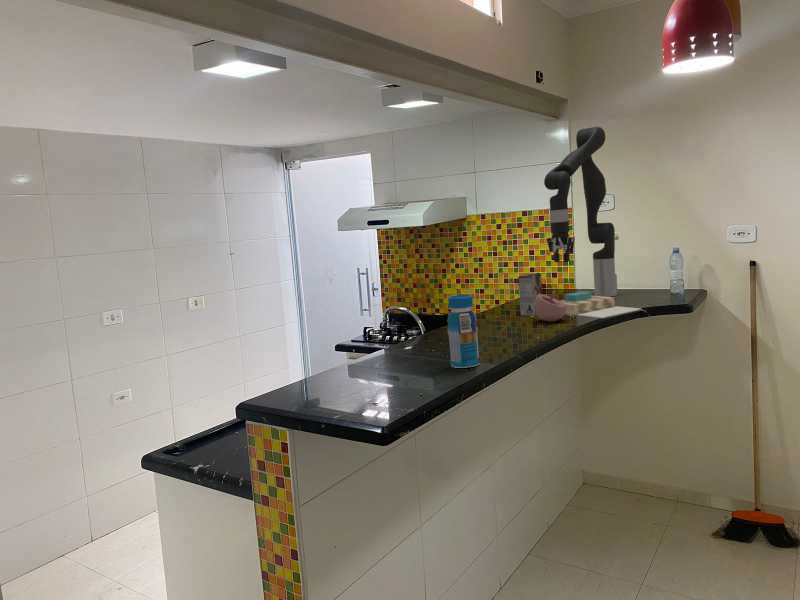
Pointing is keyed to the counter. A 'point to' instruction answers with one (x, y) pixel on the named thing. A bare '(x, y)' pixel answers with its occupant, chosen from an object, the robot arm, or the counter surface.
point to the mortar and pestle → (549, 307)
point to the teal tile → (577, 296)
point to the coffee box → (529, 292)
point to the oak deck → (588, 305)
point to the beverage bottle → (462, 332)
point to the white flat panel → (609, 312)
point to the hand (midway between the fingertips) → (561, 262)
